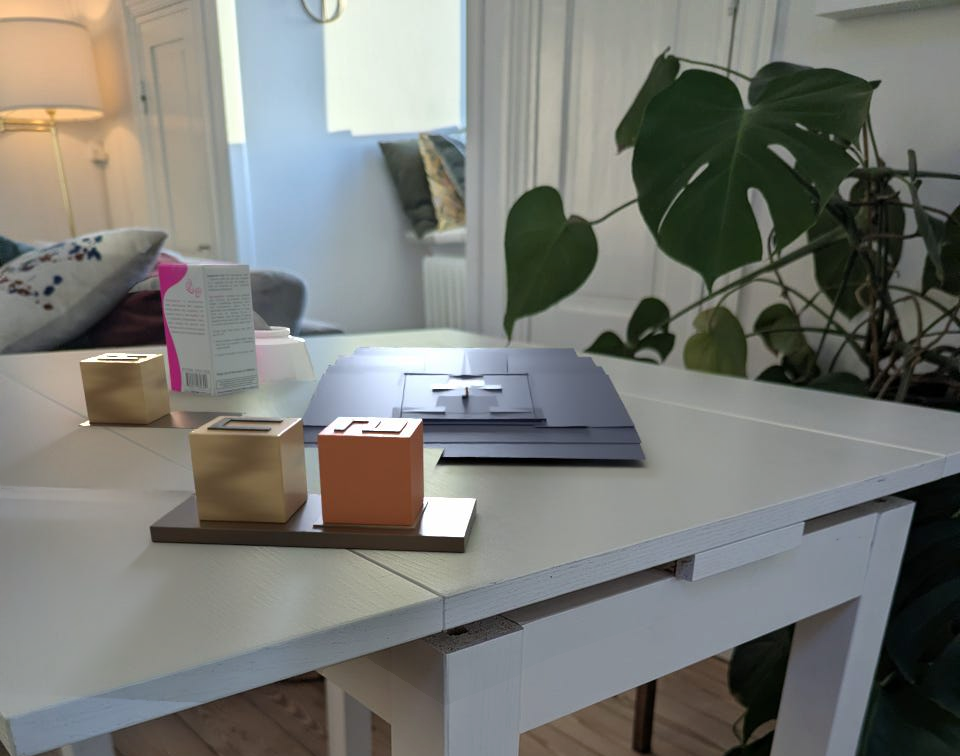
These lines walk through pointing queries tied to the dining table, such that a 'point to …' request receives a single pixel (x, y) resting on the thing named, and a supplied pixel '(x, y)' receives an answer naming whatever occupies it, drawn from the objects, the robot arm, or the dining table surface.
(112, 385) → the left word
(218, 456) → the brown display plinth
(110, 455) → the dining table surface
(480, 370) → the grey stepped plate
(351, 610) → the dining table surface
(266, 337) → the white piece
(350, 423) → the orange embossed-top cube
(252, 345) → the supplement box
